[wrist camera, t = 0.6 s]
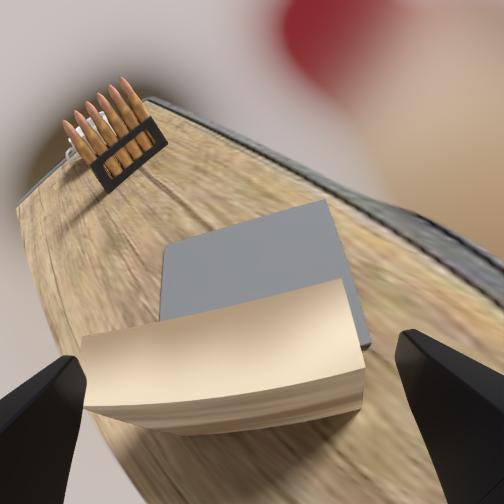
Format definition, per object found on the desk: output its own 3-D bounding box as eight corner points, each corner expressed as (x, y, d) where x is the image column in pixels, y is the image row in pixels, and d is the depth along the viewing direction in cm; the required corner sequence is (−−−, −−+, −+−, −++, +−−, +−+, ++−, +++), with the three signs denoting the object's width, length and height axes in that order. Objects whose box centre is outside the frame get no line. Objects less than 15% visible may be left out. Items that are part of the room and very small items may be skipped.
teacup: (110, 133, 53) (95, 111, 49) (128, 135, 49) (113, 111, 45) (71, 170, 50) (54, 148, 46) (85, 177, 46) (66, 152, 42)
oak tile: (361, 408, 17) (365, 367, 9) (181, 435, 19) (75, 405, 12) (350, 357, 19) (341, 278, 12) (179, 389, 21) (82, 336, 14)
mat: (371, 344, 19) (371, 342, 19) (161, 385, 22) (158, 383, 22) (325, 202, 27) (325, 199, 27) (166, 248, 30) (164, 245, 30)
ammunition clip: (162, 141, 43) (123, 72, 34) (168, 143, 42) (128, 72, 33) (104, 189, 41) (55, 124, 32) (108, 194, 40) (57, 126, 31)
